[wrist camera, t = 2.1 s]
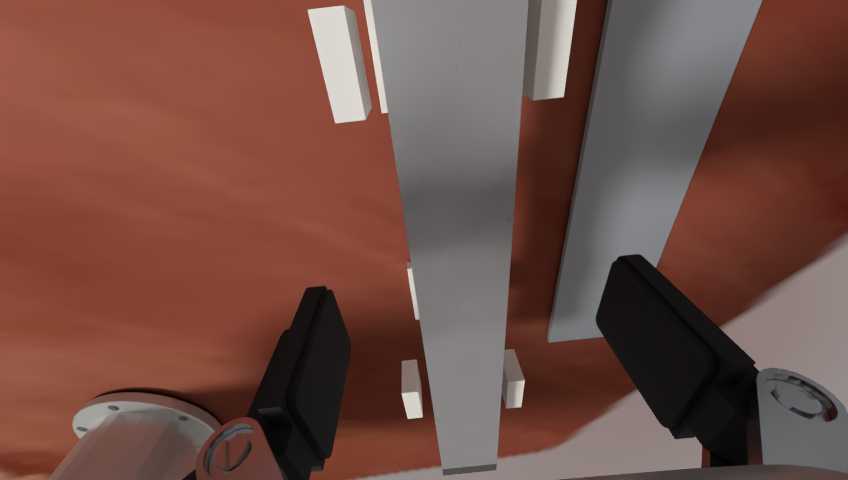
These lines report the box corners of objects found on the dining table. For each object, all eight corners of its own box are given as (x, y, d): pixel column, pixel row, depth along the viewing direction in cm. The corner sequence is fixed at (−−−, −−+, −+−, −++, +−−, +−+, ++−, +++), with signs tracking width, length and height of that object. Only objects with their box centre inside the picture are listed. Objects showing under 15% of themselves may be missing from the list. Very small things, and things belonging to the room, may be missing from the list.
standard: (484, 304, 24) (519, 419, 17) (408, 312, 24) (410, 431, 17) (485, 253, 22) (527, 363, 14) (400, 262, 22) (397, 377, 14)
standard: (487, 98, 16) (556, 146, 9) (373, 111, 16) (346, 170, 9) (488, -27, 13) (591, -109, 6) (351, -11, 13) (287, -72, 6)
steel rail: (484, 415, 20) (496, 469, 17) (438, 420, 20) (443, 475, 17) (496, -271, 6) (562, -496, 3) (343, -251, 6) (300, -461, 4)
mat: (626, 330, 27) (629, 333, 27) (546, 338, 27) (548, 342, 27) (791, -95, 13) (801, -98, 12) (621, -74, 13) (627, -77, 12)
